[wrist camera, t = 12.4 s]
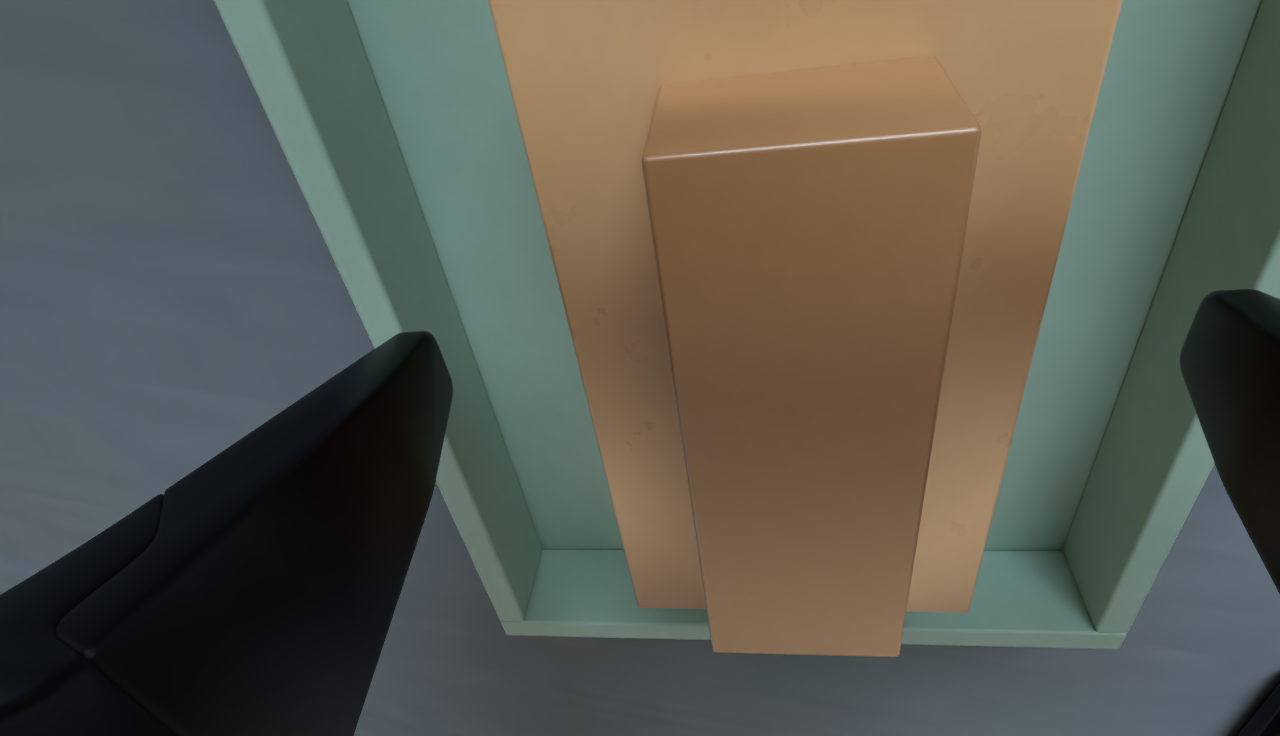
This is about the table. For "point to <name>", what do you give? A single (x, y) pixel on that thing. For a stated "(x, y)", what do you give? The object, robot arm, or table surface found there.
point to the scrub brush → (805, 283)
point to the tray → (547, 364)
